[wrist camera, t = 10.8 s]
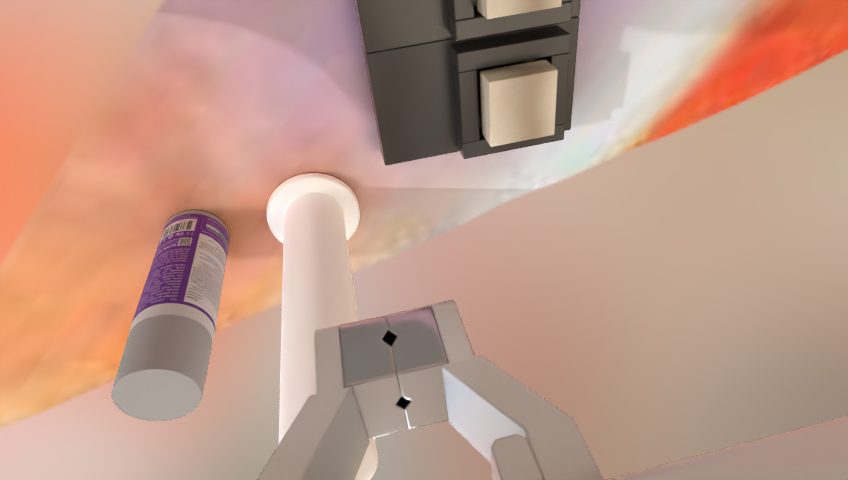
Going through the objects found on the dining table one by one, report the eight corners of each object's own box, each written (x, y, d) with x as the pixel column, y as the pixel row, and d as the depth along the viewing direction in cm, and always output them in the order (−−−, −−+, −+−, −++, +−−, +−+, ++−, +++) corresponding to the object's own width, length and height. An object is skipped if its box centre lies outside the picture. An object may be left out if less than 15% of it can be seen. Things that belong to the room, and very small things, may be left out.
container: (161, 254, 40) (107, 421, 28) (166, 204, 38) (109, 364, 26) (225, 263, 42) (199, 424, 30) (234, 215, 39) (209, 370, 28)
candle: (314, 154, 38) (338, 482, 18) (377, 211, 42) (451, 530, 22) (247, 211, 39) (201, 569, 20) (313, 261, 43) (330, 599, 24)
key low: (481, 134, 35) (490, 147, 34) (479, 70, 33) (488, 82, 31) (542, 122, 36) (554, 135, 34) (545, 58, 33) (558, 69, 31)
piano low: (381, 152, 39) (389, 178, 36) (361, 43, 34) (369, 63, 31) (558, 117, 40) (581, 140, 37) (565, 8, 35) (592, 24, 32)
